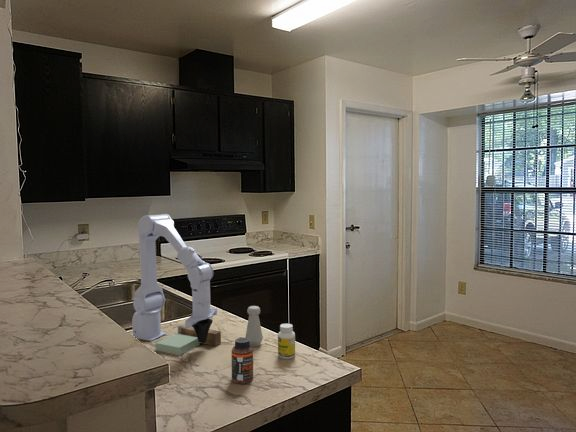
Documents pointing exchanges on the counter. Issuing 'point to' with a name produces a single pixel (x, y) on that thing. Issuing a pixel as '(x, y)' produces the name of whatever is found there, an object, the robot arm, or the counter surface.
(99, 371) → the counter surface
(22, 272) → the counter surface
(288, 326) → the supplement bottle
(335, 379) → the counter surface
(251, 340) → the salt shaker
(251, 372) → the supplement bottle
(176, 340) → the stool seat
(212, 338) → the folding leg
